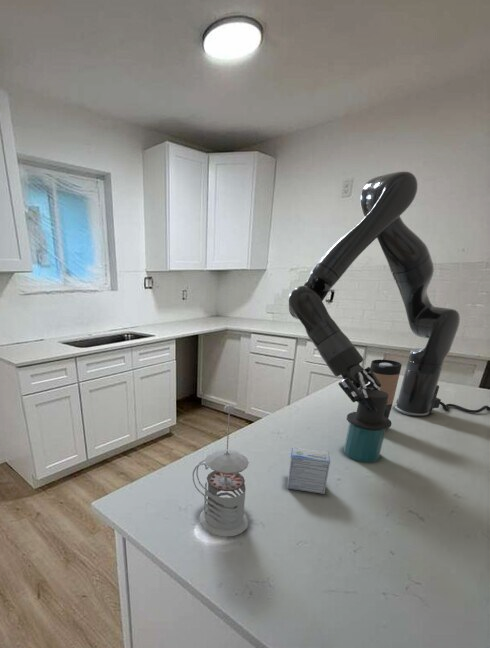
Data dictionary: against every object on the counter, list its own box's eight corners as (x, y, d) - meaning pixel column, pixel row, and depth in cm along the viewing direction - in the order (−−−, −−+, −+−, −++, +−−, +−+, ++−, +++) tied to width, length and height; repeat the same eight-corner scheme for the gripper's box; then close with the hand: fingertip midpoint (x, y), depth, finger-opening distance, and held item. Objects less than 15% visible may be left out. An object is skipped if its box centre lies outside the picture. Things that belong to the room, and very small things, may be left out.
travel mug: (379, 421, 113) (394, 359, 105) (390, 432, 106) (407, 366, 98) (353, 421, 114) (366, 359, 106) (363, 432, 107) (378, 366, 99)
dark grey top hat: (372, 419, 97) (380, 385, 93) (398, 435, 88) (408, 399, 84) (337, 421, 96) (343, 387, 92) (359, 438, 87) (367, 401, 83)
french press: (237, 543, 67) (246, 420, 57) (182, 522, 72) (182, 407, 62) (255, 513, 74) (266, 400, 64) (204, 496, 80) (207, 390, 70)
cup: (365, 445, 99) (372, 415, 96) (385, 460, 92) (393, 429, 88) (337, 447, 99) (343, 417, 95) (355, 463, 91) (362, 431, 87)
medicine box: (323, 484, 83) (329, 451, 80) (324, 495, 79) (330, 461, 76) (287, 478, 86) (291, 446, 82) (286, 489, 82) (291, 455, 78)
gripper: (338, 350, 85) (381, 410, 81) (363, 340, 93) (403, 394, 90) (313, 367, 90) (353, 424, 87) (339, 356, 99) (376, 408, 96)
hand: (378, 409), depth 89 cm, fingers closed on dark grey top hat, 6 cm apart
